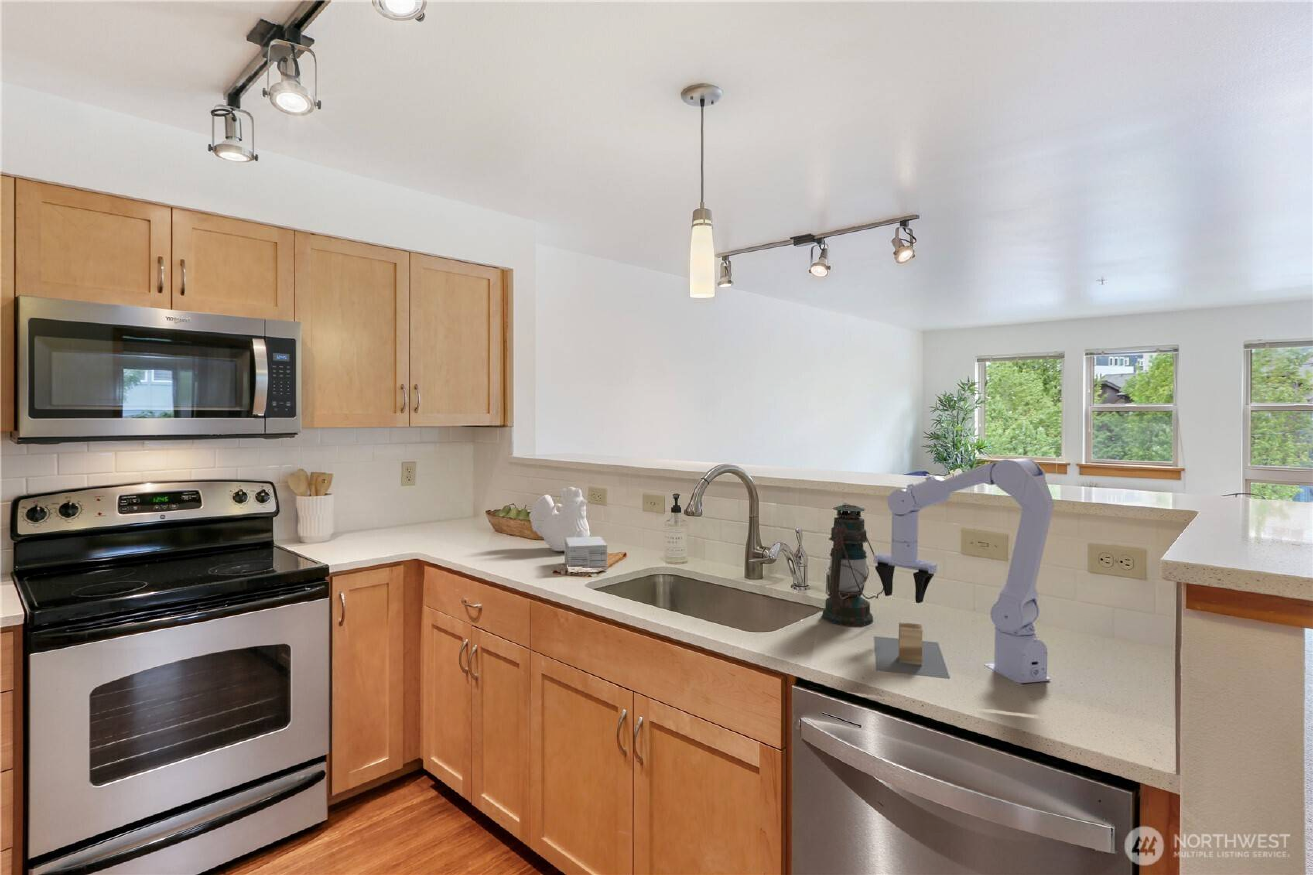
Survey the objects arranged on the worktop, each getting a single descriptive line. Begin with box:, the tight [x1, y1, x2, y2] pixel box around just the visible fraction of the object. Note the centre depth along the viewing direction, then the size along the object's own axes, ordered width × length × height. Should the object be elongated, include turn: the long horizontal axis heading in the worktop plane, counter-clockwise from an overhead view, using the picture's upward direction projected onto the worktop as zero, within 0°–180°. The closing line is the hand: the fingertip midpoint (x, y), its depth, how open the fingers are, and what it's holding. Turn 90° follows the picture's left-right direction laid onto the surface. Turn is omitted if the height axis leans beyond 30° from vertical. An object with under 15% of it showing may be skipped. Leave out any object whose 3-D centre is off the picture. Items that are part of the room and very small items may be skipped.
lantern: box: [821, 502, 884, 627], centre depth 172 cm, size 19×14×30 cm
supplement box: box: [564, 536, 608, 572], centre depth 229 cm, size 17×13×9 cm
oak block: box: [898, 621, 924, 666], centre depth 141 cm, size 4×4×8 cm
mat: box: [873, 635, 951, 680], centre depth 145 cm, size 22×14×1 cm, turn 163°
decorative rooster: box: [528, 486, 591, 552], centre depth 259 cm, size 25×16×25 cm, turn 56°
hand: (903, 598), depth 154 cm, fingers open, 7 cm apart
